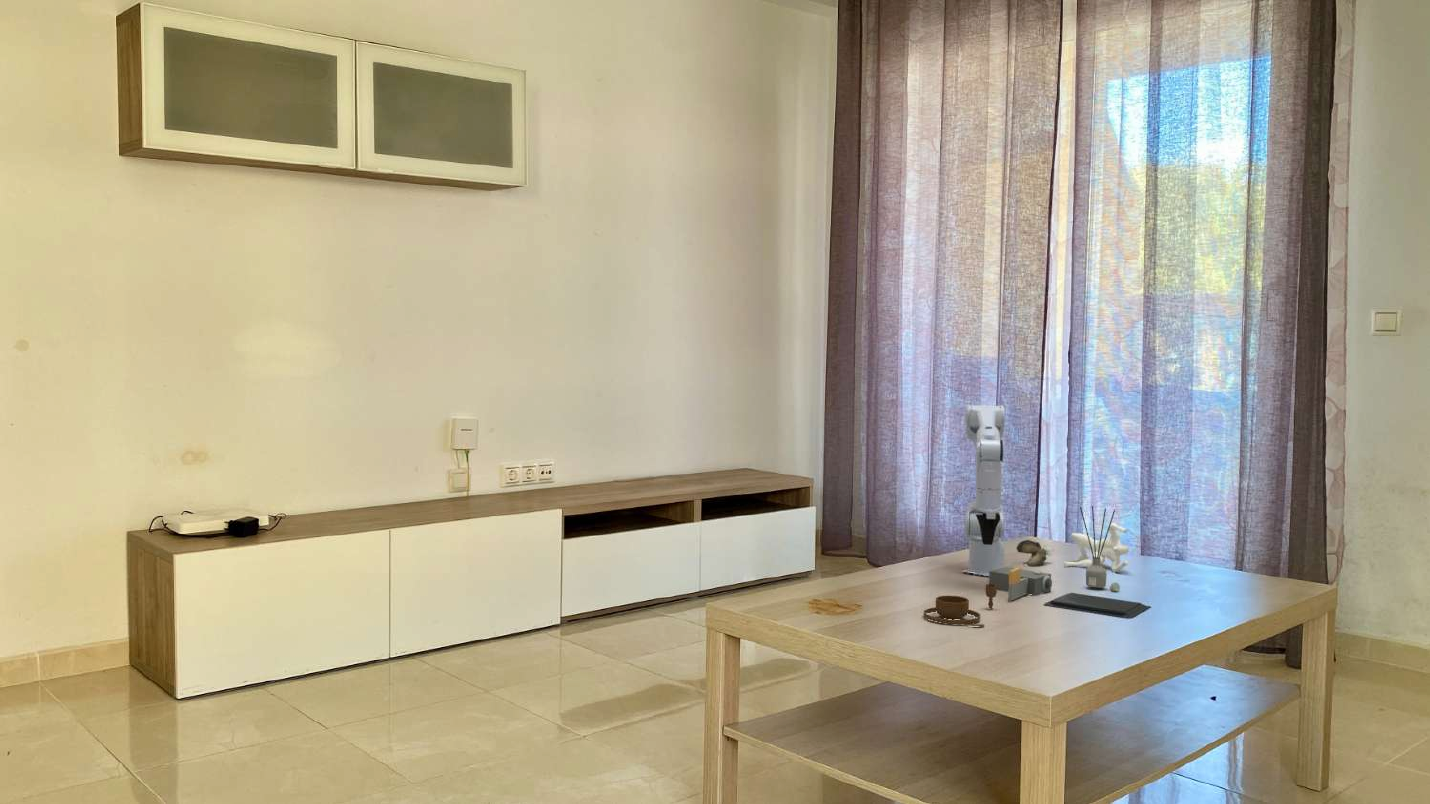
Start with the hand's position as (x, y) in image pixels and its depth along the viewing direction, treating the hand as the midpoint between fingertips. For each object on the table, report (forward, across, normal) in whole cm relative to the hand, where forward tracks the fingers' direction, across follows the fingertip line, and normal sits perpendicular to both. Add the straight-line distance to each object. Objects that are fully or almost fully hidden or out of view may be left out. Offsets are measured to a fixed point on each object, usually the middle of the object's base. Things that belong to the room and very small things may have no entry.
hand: (987, 544), depth 269 cm
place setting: (+11, +33, -7) cm, 35 cm away
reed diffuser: (+11, -4, +27) cm, 30 cm away
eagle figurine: (+11, -33, +16) cm, 38 cm away
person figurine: (+11, -31, +32) cm, 46 cm away
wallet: (+11, +16, +23) cm, 30 cm away
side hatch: (+10, +11, +6) cm, 16 cm away
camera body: (+10, +1, +8) cm, 13 cm away
